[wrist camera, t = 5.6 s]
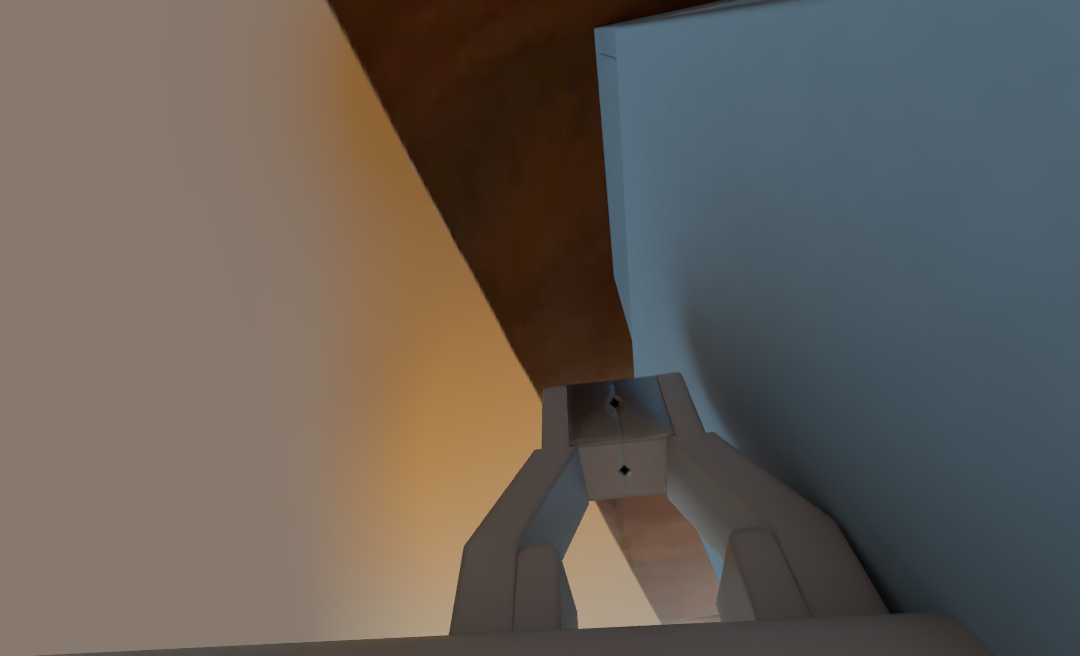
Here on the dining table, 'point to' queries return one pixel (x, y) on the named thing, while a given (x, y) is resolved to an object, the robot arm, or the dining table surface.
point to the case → (613, 141)
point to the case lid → (877, 279)
